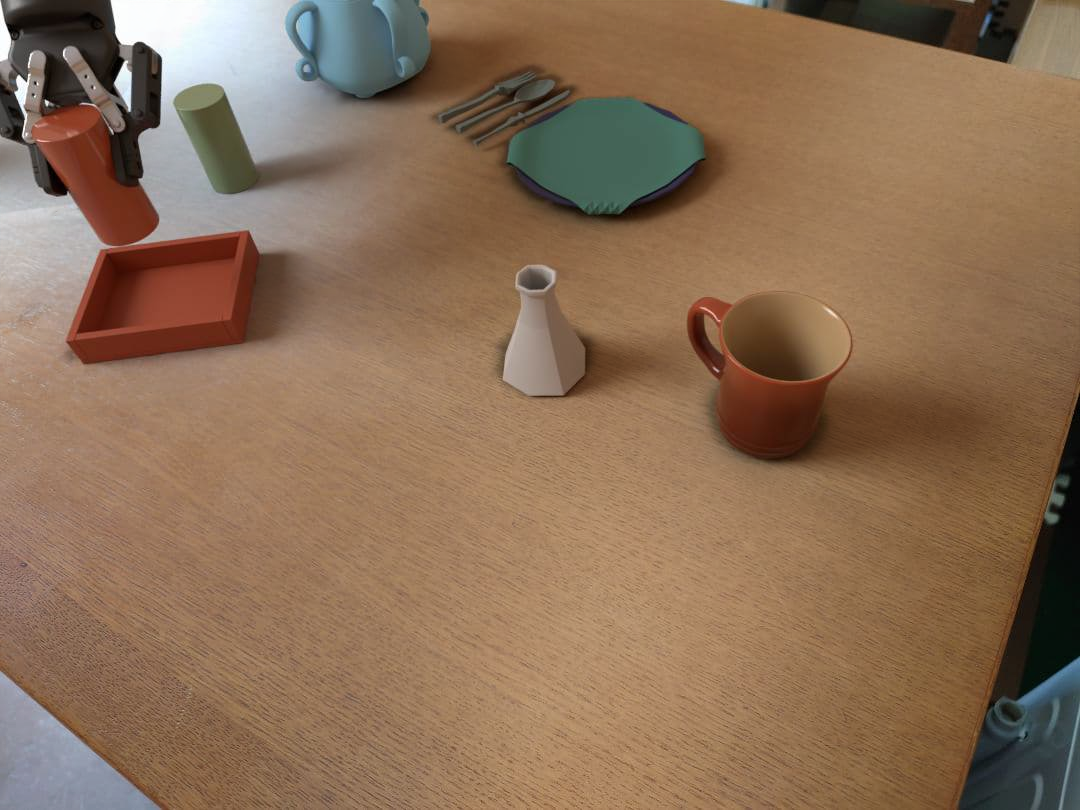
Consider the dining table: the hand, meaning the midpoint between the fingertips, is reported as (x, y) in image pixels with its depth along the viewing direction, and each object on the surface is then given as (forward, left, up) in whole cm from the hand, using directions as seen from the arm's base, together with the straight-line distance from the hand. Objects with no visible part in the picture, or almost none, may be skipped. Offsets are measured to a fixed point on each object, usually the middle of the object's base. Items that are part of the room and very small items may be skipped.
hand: (92, 189), depth 62 cm
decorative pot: (+18, +42, -15) cm, 48 cm away
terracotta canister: (0, +2, -5) cm, 6 cm away
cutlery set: (+41, +20, -15) cm, 48 cm away
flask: (+34, -12, -15) cm, 39 cm away
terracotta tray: (0, +2, -14) cm, 15 cm away
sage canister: (+3, +22, -15) cm, 26 cm away
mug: (+49, -20, -15) cm, 55 cm away
